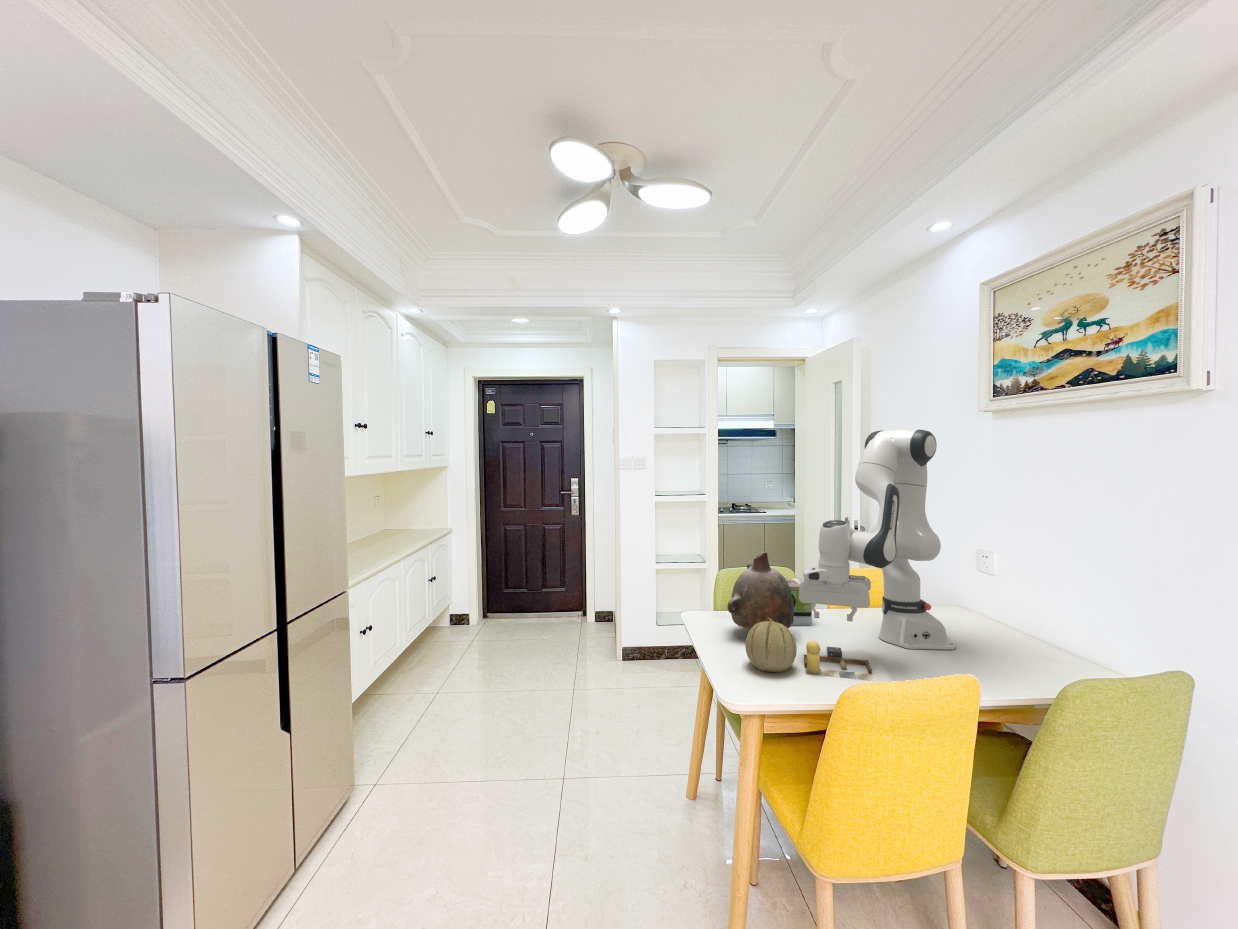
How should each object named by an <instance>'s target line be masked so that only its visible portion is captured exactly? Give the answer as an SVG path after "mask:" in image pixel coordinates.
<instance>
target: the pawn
mask: <svg viewBox="0 0 1238 929" xmlns="http://www.w3.org/2000/svg"><path fill="white" fill-rule="evenodd" d="M805 649H806V655H807V672H809V673H812V674H818V673H820V669H821V668H820V666H821V664H820V663H821V661H820V656H821V654H820V651H821V645H820V643H818V641H815V640H809V641H808V642H807V643H806V646H805Z"/></svg>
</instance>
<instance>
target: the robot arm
mask: <svg viewBox="0 0 1238 929" xmlns="http://www.w3.org/2000/svg"><path fill="white" fill-rule="evenodd" d="M937 446H938V445H937V439H936V437H935V435H934V434H933V433H932V432H931V431H928V430H925V429H921V428H920V429H909V428H898V429H890V430H877V431H876V430H875V431H873V432H871V433H869V435H868V436H867V437H866V439H865V442H864V450H863V452H862V454H861V457H860V459H859V462H858V465H857V469H856V472H855V475H854V481H855V484H856V485H855V486H857V488H858V489H859V491H860V492H862V493H863V494H864V495H865V496H868V498H871V499H873V500H875V501H876V502H877V503H878V505H879V509H878V516H877V524H873V525H872V526H870V527H869V529H868V531H867V532H866V531H860V530H856V529H855V528H852V527H850V526H849V523H848V522H847V521H845V520H841V519H835V520H827V521H825V522H823V523H822V524H821V526H820V529H819V534H818V536H819V538H818V551H819V552H818V553H819V559H818V563H817V564H818V566H814V567H809V568H806V569H804V570H803V571H802V572H803V573H802V576H803V577H802V579H801V582H800V587H799V600H800V602H802V603H810V606H811V608H812V613H813V618H814V619H820V611H818V610H816V605H825V606H837V607H838V606H839V607H850V609H851V612H850V613H847V614H846V621H847V622H853V621H854V616H855V614H856V613H857V612H858V608H864V609H868V608H869V607H870V606H871V599H870V590H871V589H872V582H871V580H870V579H869V577H866V576H865V575H854V574H853V575H852V574H850V573H851V572H850V571H851V570H850V569H851V568H850V567H851V566H850V562H854V563H858V564H864V565H868V566H869V567H873V568H874V567H875V568H877V569H881V571H882V577H883V579H882V580H883V596H882V598H881V599H882V600H881V611H882V613H883V614H882V620H881V625H880V626H881V627H880V630H879V632H878V633H879V634H878V638H879V639H881V640H882V641H884V642H886V643H889V644H893V645H896V646H899V647H902V648H904V649H907V650H908V649H911V650H912V649H913V650H947V651H948V650H950V651H951V650H955V649H956V642H955V641H954V640H953V639H952V638H951V637H949V636H948V634H947V630H946V627H945V625H944V624H943V623H942V622H941V621H940V620H939V619H938V618H936V617H935V616H934V615H933V614H931V613H930V612H929V611H931V610H932V605H931V604H930V603H929V602H926V601H925V600H923V599H921V577H920V575H919V574H918V572H917V571H916V570H914V568H913V567H912V566H911V563H910V561H915V562H927V561H928V562H930V561H933V560H935V559H936V558H937V557H938V556H939V554H940V552H941V547H942V544H941V540H940V538H939V536H938V534H936V533H935V532H934V530H933V529H932V527H931V526H930V523H929V521H928V518H927V514H926V501H927V500H926V499H927V498H926V497H927V490H928V489H927V487H928V463H929V462H930V461H931V460H932V458H933V457H934V456H935V454H936V452H937ZM909 560H910V561H909Z"/></svg>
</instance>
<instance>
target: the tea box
mask: <svg viewBox="0 0 1238 929" xmlns="http://www.w3.org/2000/svg"><path fill="white" fill-rule="evenodd" d="M784 578H785V579H786V581H787V583H788V585H789V587H790V590H791V593H792V594H793V595H794V596H795V599H796V605H795V607H794V618H793V624H792V626H812V622H813V620H812V619H813V618H812V614H813V610H812V608H811V606H810V603H802V602H800V600H799V587H800V582H801V580H802V579H801V578H795V577H794V578H793V577H787V578H786V577H784Z"/></svg>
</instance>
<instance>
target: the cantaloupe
mask: <svg viewBox="0 0 1238 929" xmlns="http://www.w3.org/2000/svg"><path fill="white" fill-rule="evenodd" d="M767 620H769V621H764V622H759V623H757V624H756V625H754V626H753V627H752V628H751V629H750V630H748V633H747V635H746V639H745V652H746V656H747V658H748V660H749V661H750V662H751V664H752V665H753V666H754V667H755V668H756V669H758V670H760V671H761V672H765V673H766V672H767V673H783V672H785V671H787V670H788V669H790V668H791V667H792V665H793V664H794V662H795V660H796V657H797V650H798V649H797V648H798V646H797V641H796V639H795V636H794V635H793V633H792V631H791V630H790V629H789V628H787V627H786V626H784V625H783V624H780V623H777V622H774V621H773V620H772V619H770V618H767Z"/></svg>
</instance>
